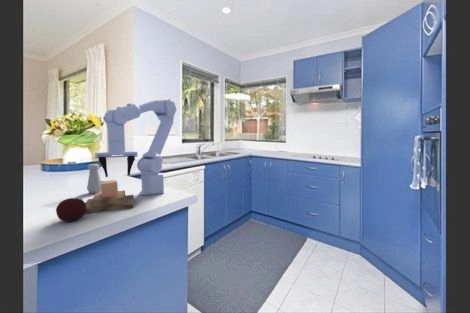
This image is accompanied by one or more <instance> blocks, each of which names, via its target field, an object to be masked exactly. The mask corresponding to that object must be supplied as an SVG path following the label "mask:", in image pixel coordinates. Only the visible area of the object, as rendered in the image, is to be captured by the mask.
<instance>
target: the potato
mask: <svg viewBox="0 0 470 313" xmlns="http://www.w3.org/2000/svg"><path fill="white" fill-rule="evenodd" d="M85 203H86V202H85V201H84V200H83V199H82V198H81V199H80V198H77V197H71V198H66V199H63V200H62V201H59V203H58V204H57V206H56V210H55V211H56V217H57V218H58V219H59V220H60V221H62V222H74V221H77V220H79V219H81V218H82V217H83V216H84V215H85V213H86V204H85Z"/></svg>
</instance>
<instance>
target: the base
mask: <svg viewBox="0 0 470 313" xmlns="http://www.w3.org/2000/svg"><path fill="white" fill-rule="evenodd" d="M134 201H135V200H134V194H128V195H127V194H126V190H118V196H111V197H104V198H102V195H101V192H100V193H96V194H94V196H92V198H87V200H86V202H85V204H86V213H85V214H86V215H87V214H93V213H94V214H95V213H101V212H102V213H103V212H111V211H112V212H113V211H120V210H129V209H130V210H131V209H134ZM85 214H84V215H85Z"/></svg>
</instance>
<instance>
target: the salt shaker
mask: <svg viewBox="0 0 470 313" xmlns="http://www.w3.org/2000/svg"><path fill="white" fill-rule="evenodd" d="M99 169H100V165H99V164H98V163H97V164H96V163H93V164H92V163H90V164H88V165H87V170H89V175H88V180H87V185H86V189H87V191H88V193H89V195H95V194H96V193H101V181H102V180H101V177H100V172H99Z"/></svg>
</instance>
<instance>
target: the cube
mask: <svg viewBox="0 0 470 313" xmlns="http://www.w3.org/2000/svg"><path fill="white" fill-rule="evenodd" d="M118 188H119V187H118V182H117V180H116V179H111V180H101V192H100V193H101V195H102V198H104V197H111V196H118V191H119V190H118Z"/></svg>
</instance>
